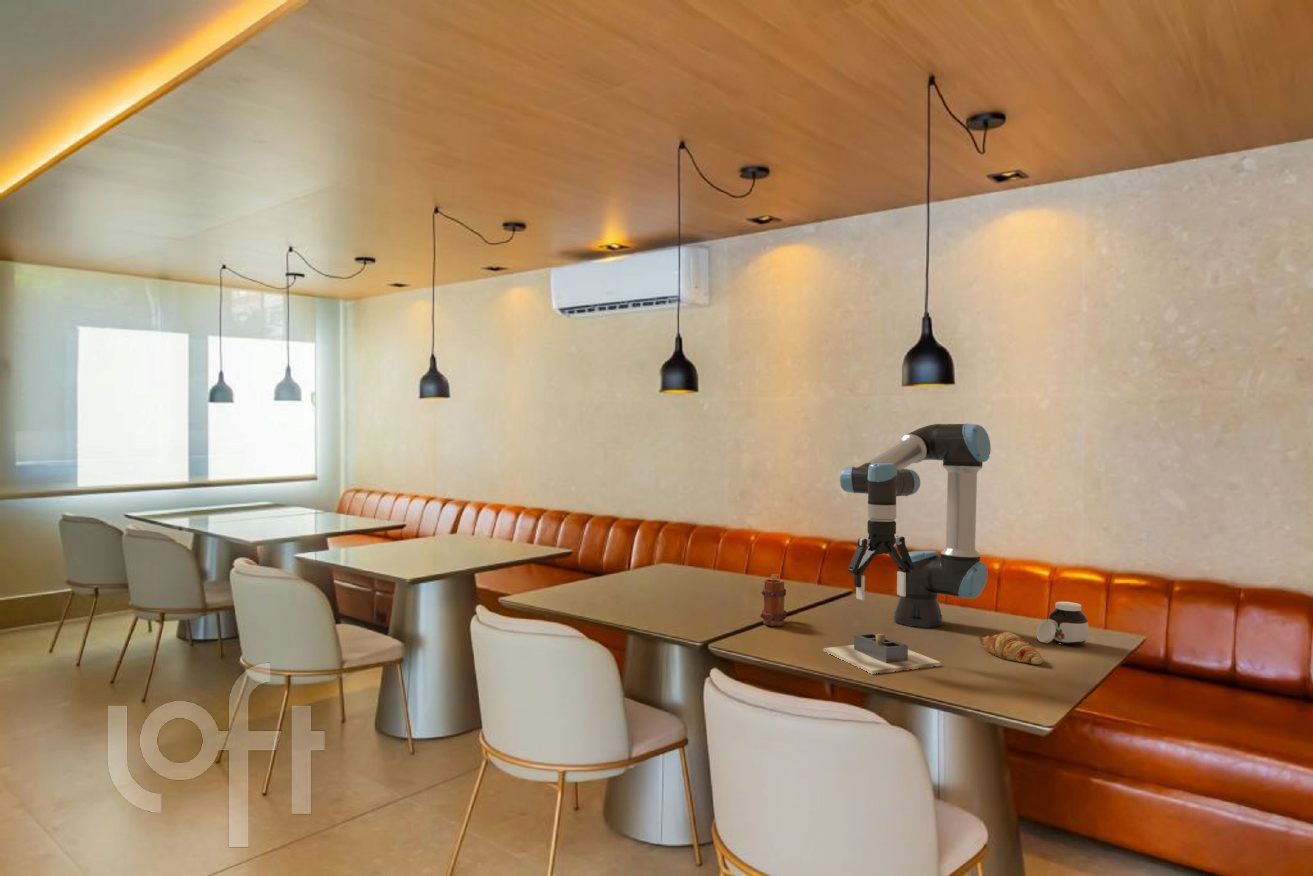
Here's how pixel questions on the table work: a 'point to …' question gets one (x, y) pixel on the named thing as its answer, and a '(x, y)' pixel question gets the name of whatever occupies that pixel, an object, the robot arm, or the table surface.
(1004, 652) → the croissant
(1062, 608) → the spread jar
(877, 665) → the mount board
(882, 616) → the table surface
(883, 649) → the grey compartment tray
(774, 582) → the brown banded canister
